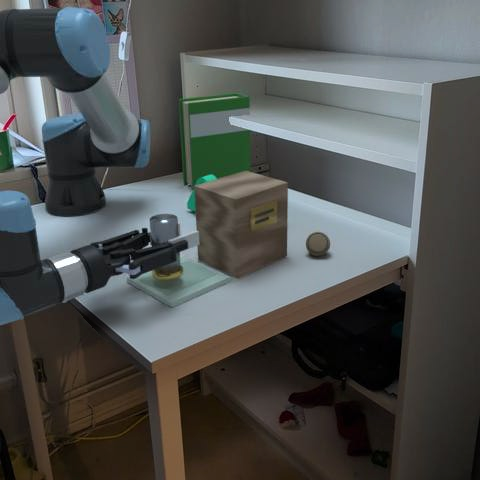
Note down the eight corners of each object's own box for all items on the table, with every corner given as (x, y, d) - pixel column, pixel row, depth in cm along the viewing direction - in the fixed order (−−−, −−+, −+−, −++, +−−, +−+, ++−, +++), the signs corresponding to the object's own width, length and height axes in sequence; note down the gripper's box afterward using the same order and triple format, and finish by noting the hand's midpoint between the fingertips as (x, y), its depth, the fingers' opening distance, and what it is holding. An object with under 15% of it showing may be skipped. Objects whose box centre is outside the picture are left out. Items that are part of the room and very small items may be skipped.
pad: (127, 282, 116) (126, 277, 116) (184, 259, 125) (184, 255, 124) (171, 307, 107) (171, 302, 106) (230, 281, 115) (230, 276, 115)
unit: (198, 259, 125) (194, 185, 118) (246, 240, 133) (245, 170, 127) (239, 278, 116) (238, 200, 110) (289, 257, 125) (289, 183, 119)
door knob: (300, 254, 126) (301, 231, 124) (318, 248, 129) (319, 226, 127) (316, 262, 123) (317, 239, 121) (334, 255, 125) (335, 233, 123)
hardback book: (193, 191, 165) (189, 103, 156) (183, 184, 172) (178, 99, 162) (250, 181, 173) (249, 96, 163) (238, 175, 179) (237, 92, 169)
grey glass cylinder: (145, 273, 113) (140, 218, 109) (170, 264, 117) (166, 210, 112) (164, 283, 109) (159, 227, 105) (189, 273, 113) (186, 218, 108)
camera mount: (243, 215, 148) (242, 175, 144) (221, 224, 143) (220, 182, 139) (209, 204, 156) (207, 166, 152) (187, 212, 151) (185, 173, 147)
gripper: (54, 275, 107) (161, 238, 121) (109, 312, 94) (220, 266, 109) (48, 236, 104) (158, 203, 118) (103, 268, 92) (219, 227, 106)
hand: (188, 233), depth 114 cm, fingers closed on grey glass cylinder, 5 cm apart
